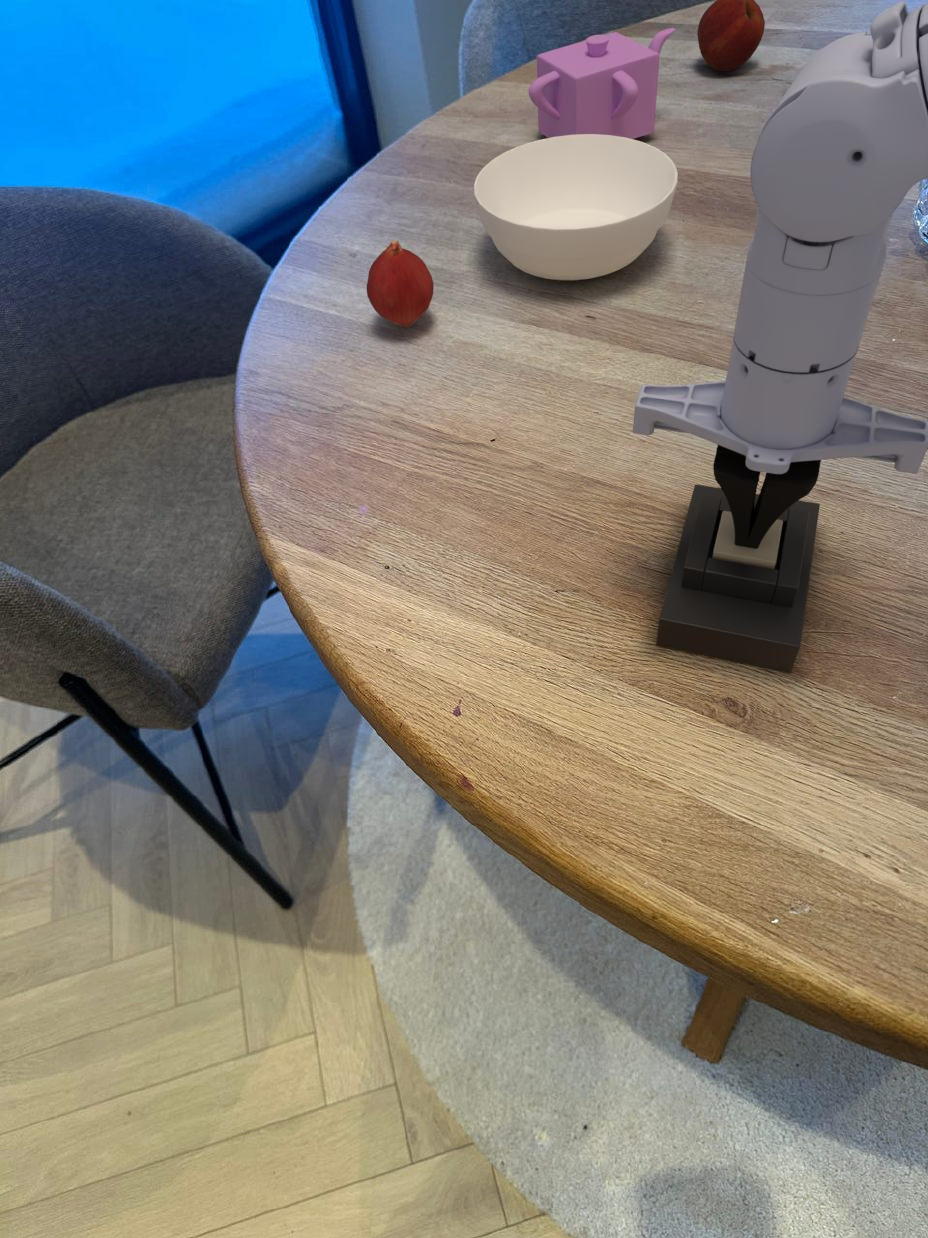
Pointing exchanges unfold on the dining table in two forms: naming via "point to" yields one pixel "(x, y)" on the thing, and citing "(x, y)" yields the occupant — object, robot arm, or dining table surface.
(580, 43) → the teapot
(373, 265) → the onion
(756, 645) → the switch plate
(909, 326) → the dining table surface
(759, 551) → the switch
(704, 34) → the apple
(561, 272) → the bowl
